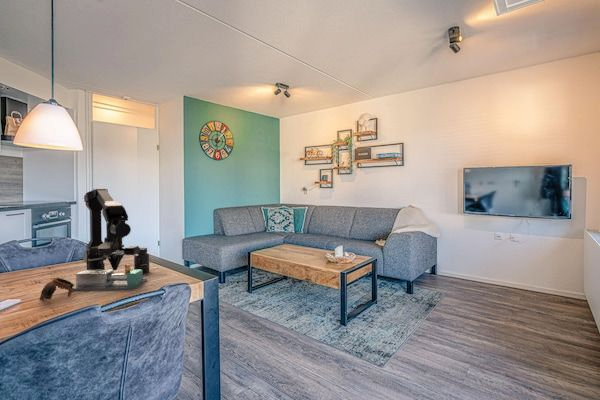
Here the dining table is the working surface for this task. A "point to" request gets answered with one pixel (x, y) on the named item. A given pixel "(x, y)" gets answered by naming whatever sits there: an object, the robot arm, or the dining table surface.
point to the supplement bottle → (142, 260)
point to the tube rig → (98, 281)
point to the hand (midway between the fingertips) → (115, 270)
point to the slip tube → (119, 275)
